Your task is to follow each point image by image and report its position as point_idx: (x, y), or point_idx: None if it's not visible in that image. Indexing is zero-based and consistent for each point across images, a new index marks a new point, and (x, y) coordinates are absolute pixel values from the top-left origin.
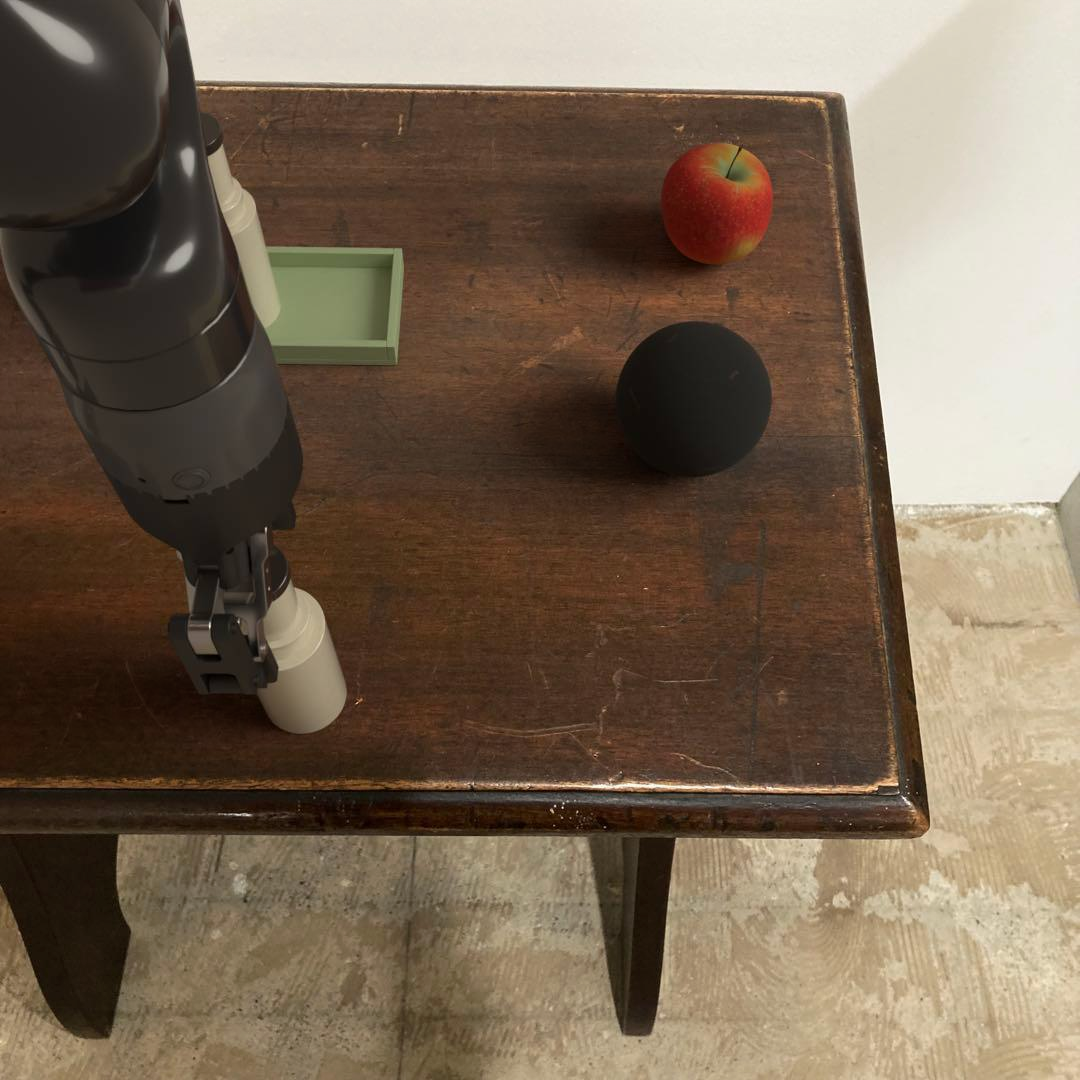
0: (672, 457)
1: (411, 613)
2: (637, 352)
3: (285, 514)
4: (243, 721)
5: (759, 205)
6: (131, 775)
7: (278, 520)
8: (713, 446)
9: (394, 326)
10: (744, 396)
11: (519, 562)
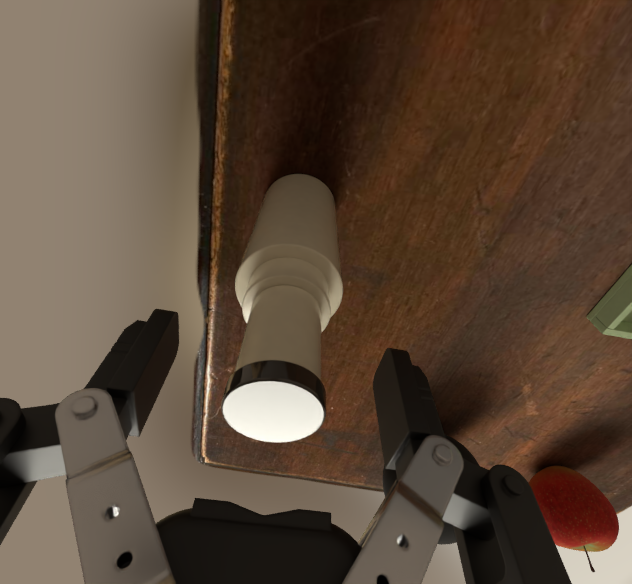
0: (394, 473)
1: (352, 294)
2: None
3: (379, 408)
4: (282, 152)
5: None
6: (236, 17)
7: (381, 387)
8: None
9: (623, 336)
10: None
11: (371, 358)
